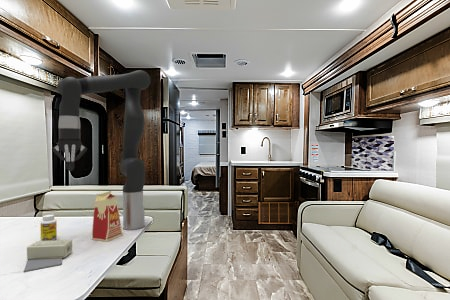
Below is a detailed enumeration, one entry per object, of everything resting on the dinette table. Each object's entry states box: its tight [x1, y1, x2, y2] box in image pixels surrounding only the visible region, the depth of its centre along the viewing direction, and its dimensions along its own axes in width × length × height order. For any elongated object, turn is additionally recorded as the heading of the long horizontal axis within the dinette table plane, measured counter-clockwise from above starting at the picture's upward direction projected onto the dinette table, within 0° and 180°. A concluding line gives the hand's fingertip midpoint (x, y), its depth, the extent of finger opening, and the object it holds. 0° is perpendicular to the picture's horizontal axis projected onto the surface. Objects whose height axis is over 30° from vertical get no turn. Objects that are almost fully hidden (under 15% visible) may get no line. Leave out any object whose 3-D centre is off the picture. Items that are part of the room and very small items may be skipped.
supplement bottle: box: [40, 214, 58, 241], centre depth 111 cm, size 6×6×10 cm
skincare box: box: [26, 239, 73, 260], centre depth 95 cm, size 6×4×12 cm
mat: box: [23, 258, 63, 273], centre depth 91 cm, size 10×13×1 cm
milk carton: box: [91, 190, 124, 243], centre depth 114 cm, size 9×9×20 cm
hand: (70, 170), depth 108 cm, fingers closed
